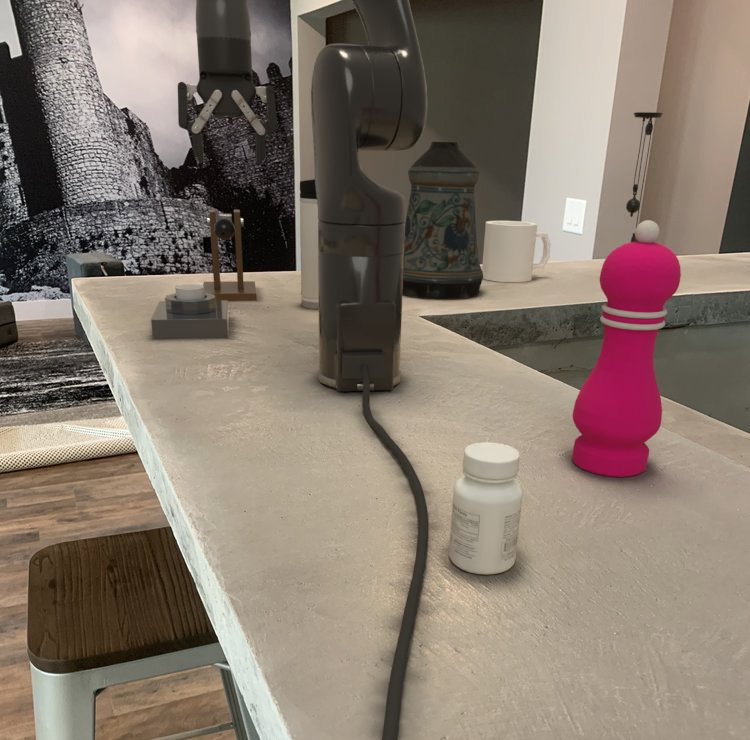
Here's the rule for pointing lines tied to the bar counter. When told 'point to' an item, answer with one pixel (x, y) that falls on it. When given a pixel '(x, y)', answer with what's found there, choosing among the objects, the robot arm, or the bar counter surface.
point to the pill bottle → (486, 509)
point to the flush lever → (224, 227)
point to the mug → (512, 251)
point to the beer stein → (441, 226)
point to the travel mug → (309, 245)
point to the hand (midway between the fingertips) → (230, 162)
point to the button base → (190, 318)
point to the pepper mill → (626, 359)
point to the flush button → (190, 292)
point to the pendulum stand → (237, 288)
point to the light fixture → (633, 203)
